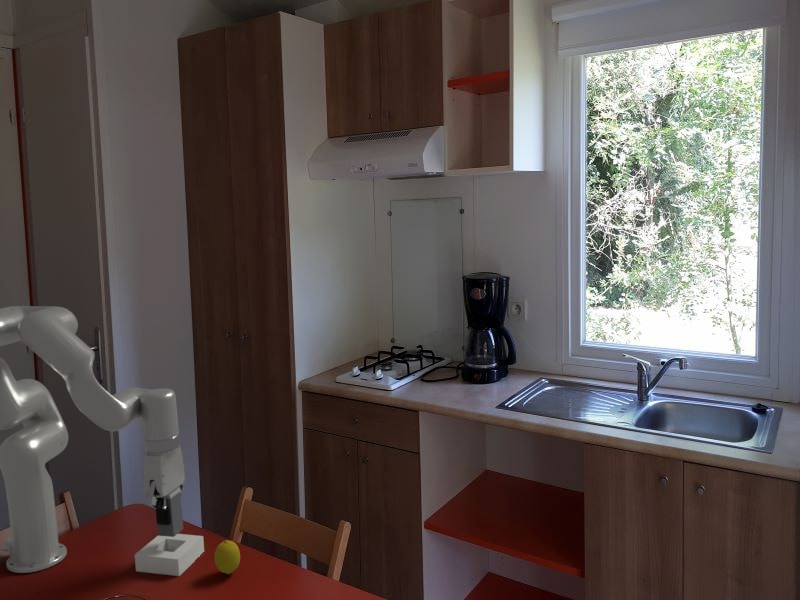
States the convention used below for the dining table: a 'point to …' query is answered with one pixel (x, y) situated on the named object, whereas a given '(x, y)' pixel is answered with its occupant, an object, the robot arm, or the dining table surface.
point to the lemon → (227, 557)
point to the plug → (172, 515)
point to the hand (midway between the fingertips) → (169, 518)
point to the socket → (169, 554)
